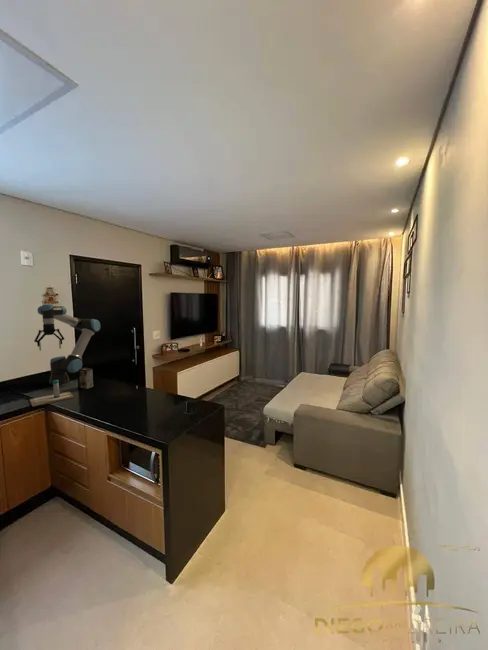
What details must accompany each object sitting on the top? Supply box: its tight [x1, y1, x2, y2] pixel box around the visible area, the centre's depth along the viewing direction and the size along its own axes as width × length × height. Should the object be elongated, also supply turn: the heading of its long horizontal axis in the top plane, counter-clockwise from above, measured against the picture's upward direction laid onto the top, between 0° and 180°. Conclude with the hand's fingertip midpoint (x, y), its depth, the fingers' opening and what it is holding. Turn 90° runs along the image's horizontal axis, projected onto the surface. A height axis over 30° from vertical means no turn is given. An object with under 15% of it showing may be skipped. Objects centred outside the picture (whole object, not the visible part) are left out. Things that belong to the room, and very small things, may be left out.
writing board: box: [29, 391, 75, 408], centre depth 218 cm, size 16×26×1 cm, turn 132°
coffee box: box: [78, 367, 94, 390], centre depth 245 cm, size 9×6×16 cm
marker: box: [52, 380, 60, 398], centre depth 218 cm, size 4×4×13 cm
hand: (50, 349), depth 233 cm, fingers open, 13 cm apart
